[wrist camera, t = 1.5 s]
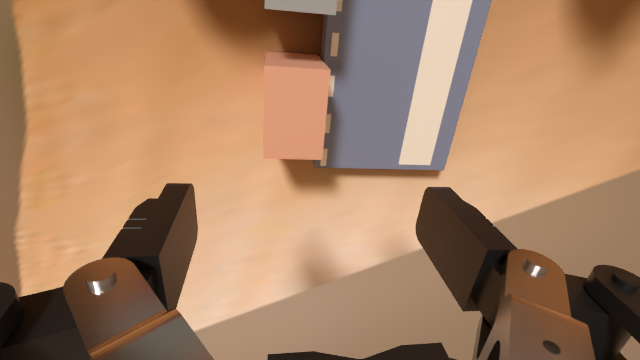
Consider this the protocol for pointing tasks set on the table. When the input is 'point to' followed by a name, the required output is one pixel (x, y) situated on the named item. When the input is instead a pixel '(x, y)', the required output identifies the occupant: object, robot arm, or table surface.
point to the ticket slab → (397, 80)
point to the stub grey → (304, 6)
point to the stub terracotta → (295, 105)
